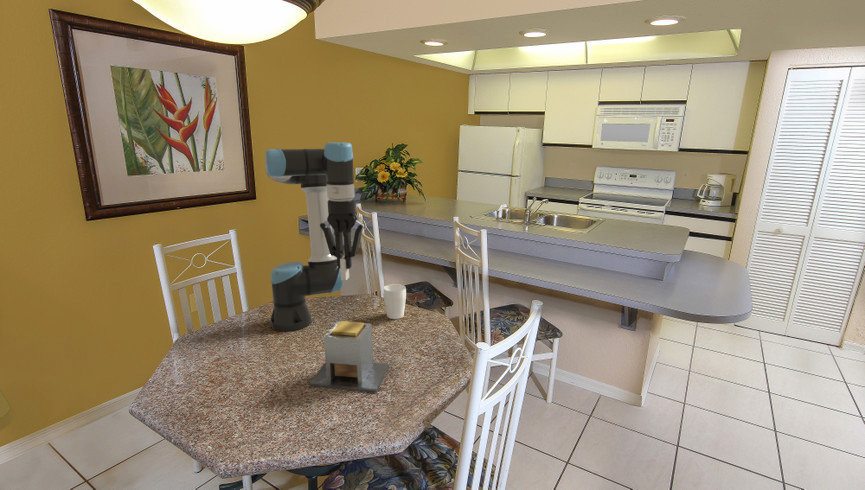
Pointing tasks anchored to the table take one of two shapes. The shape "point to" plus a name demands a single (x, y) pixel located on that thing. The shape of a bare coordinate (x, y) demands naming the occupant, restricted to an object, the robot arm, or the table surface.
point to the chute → (350, 362)
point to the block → (350, 331)
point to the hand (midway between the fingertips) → (345, 278)
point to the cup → (395, 300)
